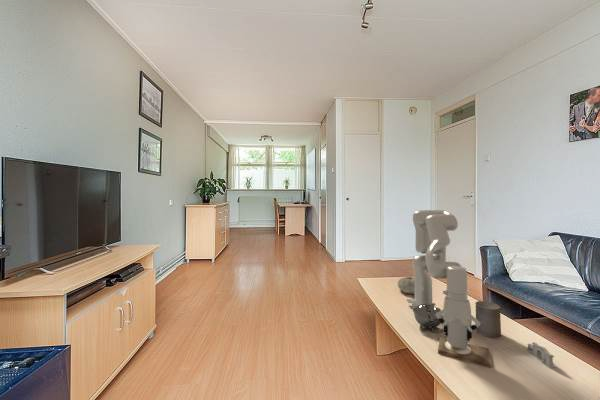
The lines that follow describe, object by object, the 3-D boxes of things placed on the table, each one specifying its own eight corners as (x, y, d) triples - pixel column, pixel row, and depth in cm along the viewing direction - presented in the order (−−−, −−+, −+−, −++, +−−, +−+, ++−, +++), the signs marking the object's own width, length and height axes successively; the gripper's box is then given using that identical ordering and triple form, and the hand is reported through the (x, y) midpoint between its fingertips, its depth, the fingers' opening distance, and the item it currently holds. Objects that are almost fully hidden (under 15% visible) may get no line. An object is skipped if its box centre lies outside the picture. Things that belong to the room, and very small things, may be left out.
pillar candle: (496, 329, 126) (495, 299, 126) (504, 339, 116) (503, 307, 117) (473, 326, 129) (472, 297, 129) (479, 336, 120) (478, 304, 120)
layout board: (437, 353, 107) (437, 349, 107) (440, 339, 117) (440, 336, 117) (491, 367, 97) (491, 363, 97) (488, 352, 107) (488, 348, 107)
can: (471, 350, 104) (470, 321, 104) (451, 348, 106) (450, 320, 106) (463, 340, 111) (463, 313, 111) (444, 339, 113) (444, 312, 113)
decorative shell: (395, 287, 189) (394, 273, 189) (420, 288, 186) (420, 274, 186) (401, 296, 171) (401, 281, 171) (429, 297, 169) (429, 282, 169)
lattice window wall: (526, 350, 108) (526, 336, 108) (531, 351, 108) (531, 337, 108) (549, 368, 97) (549, 353, 97) (554, 369, 96) (554, 353, 96)
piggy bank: (448, 334, 122) (448, 310, 122) (415, 331, 125) (415, 308, 125) (440, 323, 133) (439, 301, 133) (409, 321, 136) (409, 299, 136)
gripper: (433, 294, 110) (433, 335, 110) (482, 303, 101) (482, 347, 101) (434, 289, 116) (435, 327, 116) (481, 296, 107) (481, 338, 107)
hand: (457, 336), depth 108 cm, fingers closed on can, 7 cm apart
